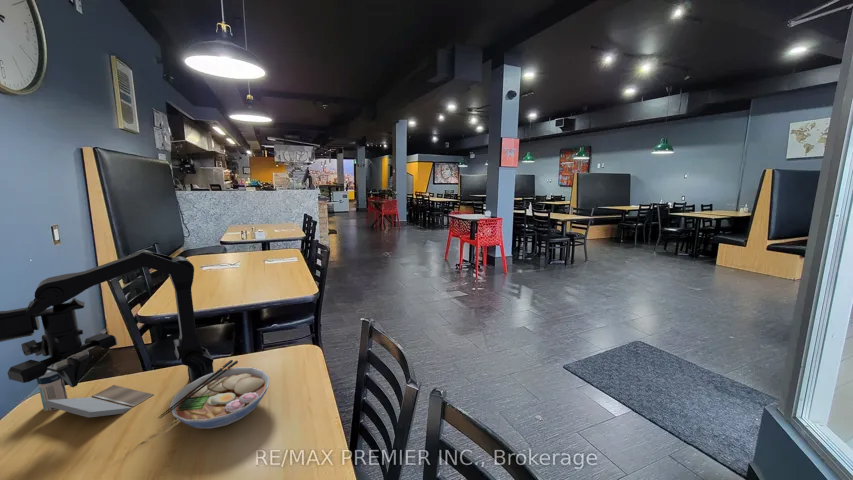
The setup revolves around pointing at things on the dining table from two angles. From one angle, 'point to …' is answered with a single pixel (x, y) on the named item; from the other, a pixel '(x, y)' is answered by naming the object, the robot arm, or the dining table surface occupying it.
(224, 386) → the ramen bowl
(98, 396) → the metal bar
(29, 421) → the dining table surface
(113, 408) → the grey tile
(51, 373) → the grey can
